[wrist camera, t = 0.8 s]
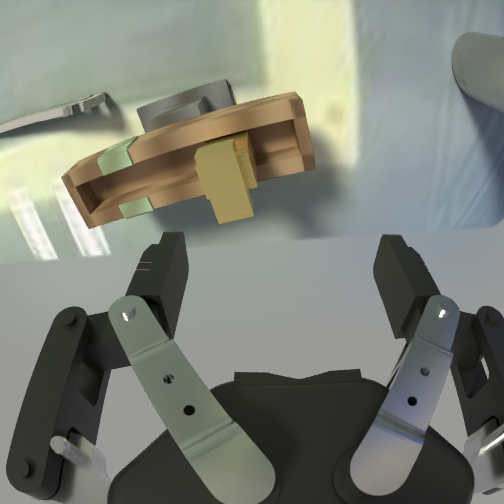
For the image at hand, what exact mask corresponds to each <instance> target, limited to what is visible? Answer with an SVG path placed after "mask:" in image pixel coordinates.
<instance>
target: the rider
mask: <svg viewBox="0 0 504 504" xmlns="http://www.w3.org/2000/svg"><path fill="white" fill-rule="evenodd" d="M194 158H195V161H196V165H195V169H196V171H197V174H198V177H199V179H200V182H201V185H202V187H203V190H204V193H205V195H206V198H207V200H209V199H210V202H211V204H212V207H213V210H214V212H215V215H216V218H217V220H218V223H219V224H223V223H227V222H231V221H235V220H240V219H244V218H248V217H252V216H254V207H253V201H252V198H251V195H250V191H249V189H253V188H258V186H257V172H256V159H255V151H254V147H253V143H252V140H251V136H250V133H249V129H247V130H243V131H239V132H235V133H232V134H228V135H224V136H220V137H217V138H213V139H210V140H206V141H205V142H204V144H203V147H201V148H198V149H197V151H196V154H195V156H194Z"/></svg>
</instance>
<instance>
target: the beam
mask: <svg viewBox="0 0 504 504" xmlns="http://www.w3.org/2000/svg"><path fill="white" fill-rule="evenodd" d="M137 113H138V115H139V118H140V120H141V123H142V125H143V128H144V131H145V134H143V135H140V136H136V137H133V138H131V139H128V140H125V141H123V142H120V143H118V144H115V145H113V146H111V147H109V148H107V149H105V150H102V151H100V152H98V153H95V154H93V155H91V156H88V157H86V158H84V159H82V160H80V161H78V162H77V163H76V164H75V165H74V166H73V167H72V168H71V169H70V170H68V171H67V172H66V173H65V174H64V175H63V176H62V177H61V178H62V180H63V182H64V184H65V186H66V188H67V190H68V192H69V194H70V196H71V198H72V200H73V201H74V203H75V205H76V207H77V209H78V211H79V212H80V214H81V216H82V218H83V220H84V221H85V223H86V225H87V227H88V228H89V229H91V228H94V227H97V226H100V225H103V224H106V223H109V222H113V221H116V220H119V219H122V218H126V219H129V218H132V217H135V216H139V215H142V214H146V213H149V212H152V211H155V209H156V208H159V207H163V206H166V205H170V204H173V203H177V202H180V201H184V200H188V199H191V198H195V197H199V196H202V195H205V193H204V190H203V187H202V185H201V182H200V179H199V177H198V174H197V171H196V169H195V165H196V161H195V158H194V156H195V154H196V151H197V149H198V148H201V147H203V144H204V142H205V141H206V140H210V139H213V138H217V137H220V136H224V135H228V134H232V133H235V132H239V131H243V130H247V129H249V133H250V136H251V140H252V143H253V147H254V151H255V159H256V172H257V182H258V181H263V180H267V179H271V178H276V177H280V176H285V175H289V174H294V173H298V172H303V171H308V170H313V169H316V164H315V159H314V154H313V149H312V143H311V138H310V133H309V129H308V124H307V119H306V114H305V110H304V105H303V101H302V99H301V98H300V97H299V95H298V94H297V93H296V92H290V93H285V94H280V95H276V96H271V97H267V98H263V99H258V100H254V101H250V102H246V103H242V104H238V105H233V101H232V98H231V95H230V91H229V88H228V85H227V81H226V79H224V80H220V81H217V82H213V83H210V84H207V85H203V86H200V87H197V88H194V89H190V90H187V91H184V92H181V93H178V94H175V95H173V96H170V97H167V98H164V99H161V100H158V101H156V102H153V103H150V104H148V105H145V106H143V107H140V108H138V109H137Z"/></svg>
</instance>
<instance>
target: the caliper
mask: <svg viewBox="0 0 504 504" xmlns="http://www.w3.org/2000/svg"><path fill="white" fill-rule="evenodd" d="M104 101H106V96H105V92H103V93H100V94H97V95H95V96H93V95H90V96H87V97H84V98H81V99H79V100H76V101H73V102H71V103H67V104H61V105H58V106H54V107H51V108H49V109H46V110H43V111H39V112H36V113H33V114H29V115H26V116H23V117H20V118H17V119H14V120H11V121H8V122H5V123H2V124H0V133H2V132H5V131H8V130H11V129H14V128H17V127H21V126H24V125H28V124H31V123H35V122H38V121H44V120H48V119H52V118H56V117H60V116H64V117H66V116H69V115H71V114H72V115H75V114H77V113H79V112H82V111H85V110H88V109H90V108H92V107H94V106H97V105H99V104H100V103H102V102H104Z"/></svg>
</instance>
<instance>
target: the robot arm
mask: <svg viewBox="0 0 504 504" xmlns="http://www.w3.org/2000/svg"><path fill="white" fill-rule="evenodd" d="M452 67H453V72H454V76H455V78H456V81H457V83H458V85H459V87H460V88H461V89H462V91H463V92H464V93H465V94H466V95H468V96H469V97H471V98H472V99H474V100H477V101H479V102H481V103H483V104H485V105H488V106H490V107H492V108H494V109H496V110H498V111H500V112H502V113H504V37H501V36H496V35H490V34H483V33H475V32H472V33H467V34H465V35H464V36H462V37H461V38H460V39H459V40H458V42H457V44H456V45H455V48H454V51H453V57H452ZM424 264H425V263H424V261H423V260H422V258H421V256H420V255H419V254H418V253H417V252H416V251H415V250H414V249H413V248H412V247H408V246H407V245H406V243H405V241H404V240H403V238H402V236H401V235H387V234H384V235H382V237H381V240H380V244H379V247H378V251H377V255H376V258H375V262H374V267H373V273H374V279H375V281H376V284H377V287H378V290H379V293H380V295H381V298H382V300H383V304H384V306H385V310H386V313H387V316H388V318H389V321H390V324H391V328H392V331H393V334H394V337H395V339H399V338H405V339H406V344H405V346H404V348H403V350H402V352H401V354H400V356H399V358H398V360H397V362H396V365H395V367H394V369H393V371H392V373H391V374H390V376H389V378H388V380H387V382H386V384H385V386H383V385H381V384H380V383H378V382H375V381H373V380H369V379H366V378H362V377H361V372H360V369H352V370H337V371H328V372H325V373H322V374H318V375H314V376H311V377H307V378H304V379H295V378H290V377H285V376H280V375H275V374H270V373H258V372H256V373H255V372H253V373H252V372H235V374H234V381H231V382H227V383H224V384H221V385H218V386H216V387H214V388H212V389H210V390H209V389H208V388H207V387H206V385H205V384H204V383H203V381H202V380H201V378H200V377H199V376H198V374H197V373H196V371H195V370H194V369H193V367H192V366H191V365H190V363H189V362H188V360H187V359H186V357H185V356H184V354H183V353H182V352H181V350H180V349H179V347H178V346H177V344H176V343H175V341H174V340H173V339H174V335H175V330H176V326H177V321H178V317H179V312H180V308H181V304H182V299H183V295H184V291H185V287H186V282H187V279H188V271H189V264H188V257H187V251H186V245H185V238H184V234H183V232H164V233H163V235H162V237H161V240H160V242H159V244H151V245H150V246H149V247H148V248H147V249H146V250H145V251H144V252H143V254H142V257H141V259H140V263H139V264H138V266H137V269H136V271H135V273H134V275H133V278H132V280H131V283H130V285H129V287H128V290H127V292H126V295H125V297H122V298H120V299H118V300H116V301H115V302H114V303H113V304H112V305H111V307H110V309H109V311H108V312H104V313H99V314H94V315H89V316H87V314H86V312H85V310H84V309H82V308H80V307H76V306H75V307H69V308H66V309H64V310H62V311H61V312H60V313H59V314H57V316H56V317H55V319H54V321H53V323H52V325H51V328H50V330H49V332H48V335H47V337H46V340H45V342H44V345H43V347H42V350H41V352H40V355H39V357H38V360H37V363H36V366H35V368H34V371H33V374H32V376H31V379H30V382H29V385H28V388H27V391H26V394H25V397H24V400H23V403H22V407H21V410H20V413H19V417H18V420H17V423H16V427H15V431H14V434H13V438H12V443H11V446H10V450H9V455H8V459H7V464H6V473H7V477H8V480H9V481H10V483H11V485H12V486H13V487H14V488H15V489H17V490H18V491H20V492H23V493H25V494H27V495H30V496H32V497H33V498H34V499H37V500H39V501H42V502H44V503H47V504H470V502H471V499H472V496H474V495H477V494H480V493H482V494H485V495H489V494H492V493H495V492H497V491H499V490H501V489H504V318H503V316H502V315H501V313H500V312H499V311H497V310H496V309H495V308H493V307H490V306H482V307H481V308H479V310H478V312H477V313H476V315H475V314H470V313H465V312H461V311H460V310H459V307H458V306H457V304H456V303H455V302H454V301H453V300H452V299H450V298H448V297H446V296H443V295H441V294H440V291H439V289H438V288H437V286H436V284H435V282H434V280H433V278H432V276H431V274H430V273H429V272H428V269H427V267H426V266H425V265H424ZM483 357H484V359H485V361H486V364H487V367H488V370H489V379H487V376H486V373H485V370H484V368H483V365H482V362H481V360H482V359H483ZM127 366H132V367H133V369H134V371H135V373H136V375H137V377H138V379H139V381H140V382H141V384H142V386H143V388H144V390H145V392H146V393H147V395H148V397H149V399H150V400H151V402H152V404H153V406H154V407H155V409H156V411H157V413H158V414H159V416H160V418H161V419H162V421H163V422H164V424H165V426H166V427H167V429H166V430H165V431H164V432H163V433H162V434H161V435H160V436H159V437H158V438H157V439H155V440H154V441H153V442H152V443H151V444H150V445H149V446H148V447H147V448H146V449H145V450H143V451H142V452H141V453H140V454H139V455H138V456H137V457H136V458H135V459H133V460H132V461H131V462H130V463H129V464H128V465H127V466H126V467H124V468H123V469H122V470H121V471H120V472H119V473H118V474H117V475H116V476H115V478H114V479H113V481H111V480H110V479H109V477H108V475H107V471H106V460H105V457H104V455H103V453H102V452H101V451H100V450H99V449H98V448H97V447H95V445H96V440H97V434H98V429H99V424H100V418H101V413H102V408H103V403H104V399H105V394H106V390H107V386H108V381H109V377H110V373H111V369H116V368H121V367H127ZM449 368H450V369H451V372H452V376H453V379H454V383H455V386H456V390H457V394H458V397H459V401H460V405H461V409H462V413H463V417H464V422H465V426H466V431H467V435H468V439H467V440H466V443H465V446H464V452H463V454H461V453H460V452H459V451H458V450H457V449H456V448H455V447H454V446H452V445H451V444H450V443H449V442H448V441H447V440H445V439H444V438H443V437H442V436H441V435H440V434H439V433H438V432H436V431H435V430H434V429H433V428H432V427H431V426H430V425H429V423H430V420H431V417H432V415H433V413H434V410H435V408H436V405H437V402H438V399H439V397H440V394H441V392H442V389H443V386H444V383H445V380H446V377H447V374H448V371H449Z"/></svg>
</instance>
